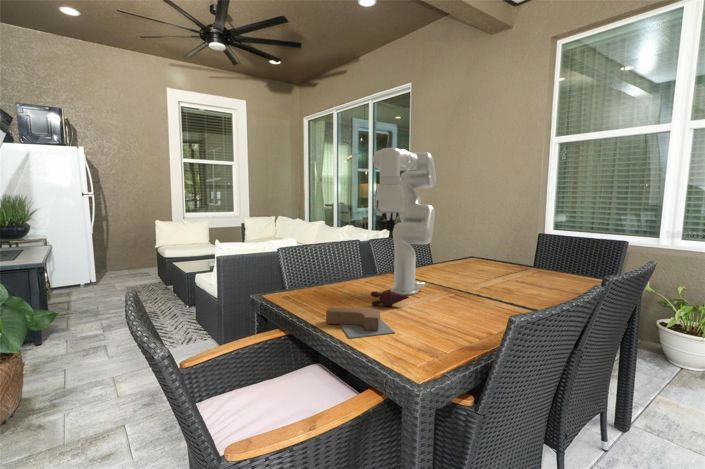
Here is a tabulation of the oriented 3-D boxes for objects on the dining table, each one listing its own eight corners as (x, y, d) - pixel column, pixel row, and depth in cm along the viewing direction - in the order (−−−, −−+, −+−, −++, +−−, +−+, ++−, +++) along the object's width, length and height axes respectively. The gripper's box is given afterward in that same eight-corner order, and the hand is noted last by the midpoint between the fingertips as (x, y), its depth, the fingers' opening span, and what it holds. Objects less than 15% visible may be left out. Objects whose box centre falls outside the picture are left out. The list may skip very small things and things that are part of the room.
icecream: (408, 288, 144) (371, 290, 146) (408, 288, 137) (369, 290, 139) (409, 305, 143) (372, 307, 145) (409, 306, 136) (370, 308, 138)
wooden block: (378, 317, 113) (322, 315, 115) (378, 331, 113) (323, 328, 116) (380, 308, 122) (328, 306, 124) (380, 321, 122) (328, 319, 125)
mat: (373, 313, 132) (373, 312, 132) (394, 333, 113) (394, 332, 113) (334, 317, 128) (334, 316, 128) (349, 338, 109) (349, 337, 109)
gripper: (403, 181, 139) (403, 228, 142) (367, 182, 135) (368, 230, 137) (412, 181, 132) (412, 230, 135) (374, 182, 127) (375, 232, 130)
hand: (389, 230), depth 136 cm, fingers closed
